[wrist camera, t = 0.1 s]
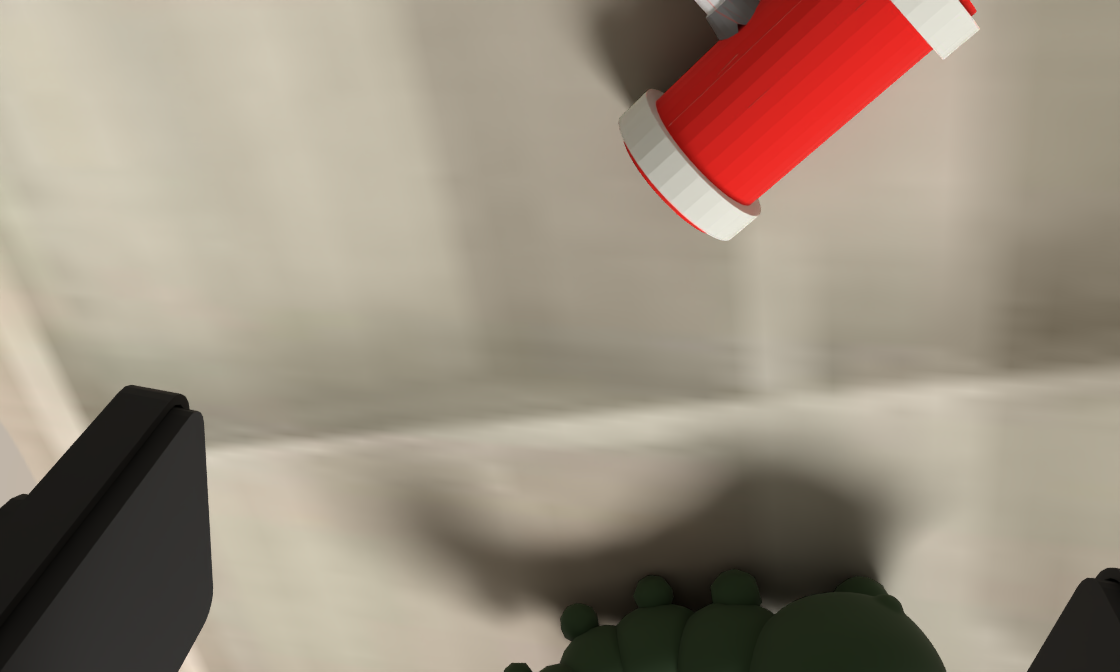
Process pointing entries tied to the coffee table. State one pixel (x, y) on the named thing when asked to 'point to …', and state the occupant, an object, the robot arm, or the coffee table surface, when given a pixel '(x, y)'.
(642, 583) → the toy figurine
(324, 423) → the coffee table surface
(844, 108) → the toy hammer
